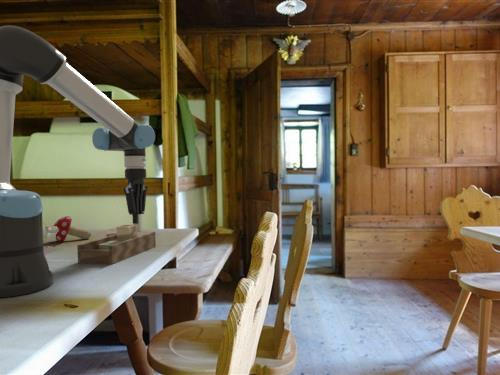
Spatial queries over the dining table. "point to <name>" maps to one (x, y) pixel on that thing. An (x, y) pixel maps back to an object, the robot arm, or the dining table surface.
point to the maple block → (126, 232)
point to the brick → (111, 232)
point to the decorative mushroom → (69, 230)
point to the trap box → (114, 249)
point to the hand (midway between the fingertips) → (137, 232)
